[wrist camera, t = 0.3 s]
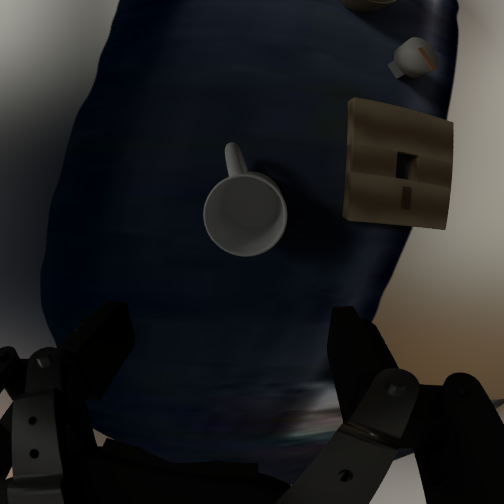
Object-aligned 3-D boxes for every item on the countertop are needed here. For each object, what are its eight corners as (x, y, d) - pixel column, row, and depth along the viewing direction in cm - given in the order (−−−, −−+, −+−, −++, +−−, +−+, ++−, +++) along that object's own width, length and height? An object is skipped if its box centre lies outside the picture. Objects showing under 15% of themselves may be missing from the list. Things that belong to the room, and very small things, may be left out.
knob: (377, 60, 29) (400, 41, 21) (399, 51, 28) (424, 33, 20) (395, 88, 30) (422, 74, 22) (416, 78, 29) (445, 64, 21)
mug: (207, 153, 35) (184, 150, 25) (267, 137, 34) (267, 128, 24) (229, 237, 38) (215, 264, 29) (288, 224, 37) (295, 247, 28)
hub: (347, 101, 31) (354, 96, 28) (442, 124, 31) (454, 122, 28) (342, 216, 36) (348, 221, 33) (435, 225, 36) (446, 230, 33)
